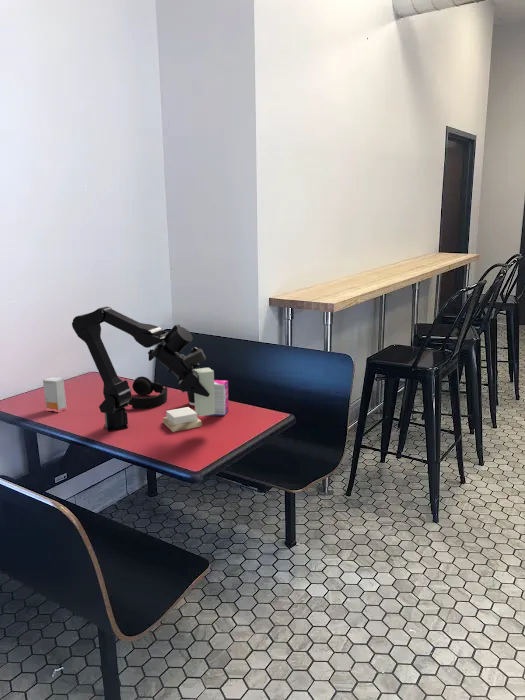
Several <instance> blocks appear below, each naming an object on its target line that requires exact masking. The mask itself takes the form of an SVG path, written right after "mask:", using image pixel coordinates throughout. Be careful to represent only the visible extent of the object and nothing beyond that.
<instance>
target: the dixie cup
mask: <svg viewBox="0 0 525 700" xmlns="http://www.w3.org/2000/svg"><path fill="white" fill-rule="evenodd" d="M186 394H187V399H188V402H189V405H191V406H195V396H194V393H192V392H188V391H187V393H186Z"/></svg>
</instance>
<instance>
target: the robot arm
mask: <svg viewBox="0 0 525 700" xmlns="http://www.w3.org/2000/svg"><path fill="white" fill-rule="evenodd" d="M103 323H105V324H106V323H107V324H108V325H110V326H113V327H114V328H116V329H117V330H120V331H122V332H124V333H127V334H128V335H130V336H131V337H133V339H134V340H135V342H136V343H138V344H139V345H140V346H142V347H143V348H147V349H148V348H151V347H155V346H156V347H155V348H154V349H149V351H148V352H147V355H148V361H150V362H151V361H153V359H155V360H157V361H158V362H160V363H161V364H162V365H163V366H164V367H165V368H167V372H168V373H172V374H173V375H175V377H177V380H178V389H179V390H180V391H181V392H182V393H183V394H184V393H185V392H187V391H188V392H192V393H196V394H199V395H202V396H206V397H208V396H209V395H210V394H209V393H208V391H207V390H206V389H205V388H204V386H203V385H202V384H201V383H200V381H199V375H197V374H196V373H195V372H194V371H193V369H196V368H197V369H201V367H200V363H203V362H205V361H206V358H207V357H206V355H205V353H204V350H203V349H202V348H198V347H196V346H195V347H192V348H191V350H190V352H191V353H188V354H186V355H184V354H183V353H181V352H182V351H183V350H184V349H185V348H186V347H187V346H188V345H189V344H190V343H191V342H193V334H192V333H191V332H190V330H188V329H186V328H185V327H182V326H181V325H180V324H178V323H177V324H174V326H172V328H171V330H169V331H165V330H164V329H162V328H161V327H160V326H158V325H155V324H149V323H144V322H143V323H142V322H139V321H137V320H135V319H133V318H131V317H129V316H127V315H125V314H122V313H121V312H118V311H117V310H114V309H113V308H112V307H110V306H102V307H98V308H97V309H96V310H94V311H92V312H88V313H85V314H80V315H76V316H75V317H73V319H72V322H71V327H72V329H73V330H74V332H75V334H76V335H77V337H78V338H79V339H81V341H83V342H84V343H85V345H86V348H88V351H89V353H90V355H91V358H92V360H93V362H94V364H95V367H96V370H97V371H98V373H99V376H100V378H101V381H102V383H103V389H102V394H103V397H104V400H103V401H102V402H101V404H99V406H98V408H99V411H100V413H101V414H102V413H103V414H104V422H105V423H104V427H105V428H106V430H107V431H108V432H112V431H117V430H118V431H119V430H122V429H128V428H129V426H128V424H129V421H128V419H129V418H128V412H127V411H126V407H128V406H129V404H128V403H129V401H130V399H132V397H133V396H132V395H133V394H132V390H133V389H132V388H130V386H129V382H128V380H127V379H125V380H122V379H121V378H119V376H118V374H117V372H116V369H115V367H114V365H113V362H112V360H111V358H110V355H109V353H108V351H107V349H106V346H105V344H104V343H103V339H102V338H101V335H102V333H101V332H102V326H101V324H103ZM162 343H163V344H162ZM180 353H181V354H180Z"/></svg>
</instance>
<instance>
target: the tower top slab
mask: <svg viewBox="0 0 525 700" xmlns="http://www.w3.org/2000/svg"><path fill="white" fill-rule="evenodd" d="M165 411H166V412H165V413H166V416H165V417H167V419H168V420H169V421H171V422H172V423H173V424H174V425H177V424H182V423H187V422H193V421H198V419H199V417H198V416H199V415H198V414H197V413H196V412H195V409H192V408H190V407H189V406H187V407H181V408H175V409H169V410H165Z"/></svg>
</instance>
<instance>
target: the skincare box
mask: <svg viewBox="0 0 525 700" xmlns="http://www.w3.org/2000/svg"><path fill="white" fill-rule="evenodd" d="M42 383H43V392H44V403H45V409H46V408H50V409H56V410H60V409H62V408H65V407H66V408H67V401H66V392H65V383H64V378H62V377H51V376H50V377H47V378H45V379H42Z"/></svg>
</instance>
